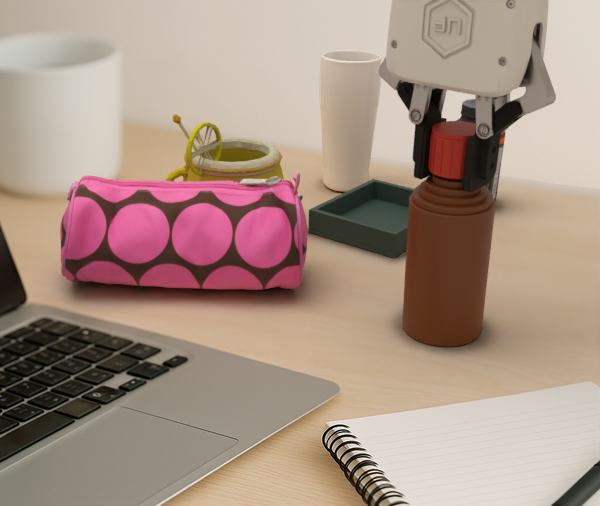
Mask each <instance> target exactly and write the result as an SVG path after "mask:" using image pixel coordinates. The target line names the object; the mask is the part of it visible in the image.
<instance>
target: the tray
mask: <svg viewBox="0 0 600 506" xmlns="http://www.w3.org/2000/svg"><path fill="white" fill-rule="evenodd" d="M414 189H415V188H412V187H408V186H404V185H399V184H396V183H391V182H387V181H384V180H379V179H377V178H372V179H370V180H368V182H366V183H364V184H361V185H359V186H357V187H355V188H353V189H351V190H349V191H347V192H342V193H341V194H338V195H337V196H334V197H333V198H330V199H328V200H326V201H324V202H321V203H320V204H317V205H316V206H313V207H312V208H309V209H308V229H307V233H310V234H313V235H317V236H319V237H323V238H327V239H330V240H333V241H336V242H339V243H342V244H346V245H349V246H353V247H356V248H360V249H363V250H367V251H369V252H373V253H376V254H380V255H382V256H385V257H389V258H393V259H394V258H396V257H398V256H400V255H401V254H403V253H405V252H406V248H407V231H408V213H409V198H410V196H411V194H412V193H413V190H414Z"/></svg>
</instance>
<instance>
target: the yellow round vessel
mask: <svg viewBox="0 0 600 506" xmlns="http://www.w3.org/2000/svg"><path fill="white" fill-rule="evenodd" d="M181 119H182V117H181V116H180V115H178V114H176V113H174V114H173V115H172V121H173V123H175V124H177V125H178V127H179V128H180V129H181V131H182V132H183V134H184V135H185V137H186V139H187V140H188V141H187V144H186V149H185V153H184V155H183V160H184V162H185V165H184V166H183V167H180V168H177V169H175V170H173V171H171V172H169V174H168V175H167V176H166V178H165V179H164V181H176V179H178V178H180V177H182V181H185V182H187V181H191V182H198V181H239V182H240V181H242V179H268V180H269V178H271V177H274V176H278V177H279V178H280V179H281V180H282V179H285V177H284V172H283V169H282V166H281V160H282V158H283V155H282V153H281V151H279V150H278V148H277V147H276V146H275V145H272V144H271V143H269V142H266V141H264V140H259V139H256V138H255V139H254V138H248V137H222V134H221V131H220V129H219V127H218V126H217V125H216V124H214V123H212V122H208V121H203V122H201V123H199V124H198V125H197V126H195V128H194V129H193V130H192V131H191V134H190V135H189V133H188V131H187V130H186V128H185V126H184V125H183V124H182V121H181ZM205 127H206V129H205V135H204V138H203V137H202V135H201V134H200V131H201V130H202V129H203V128H205ZM213 132H214V135H215V138H212V139H211V136H212V133H213ZM208 133H209V134H208ZM207 136H208V139H207ZM203 139H204V140H203ZM195 140H196V141H197V143H194V141H195Z"/></svg>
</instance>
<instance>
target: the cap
mask: <svg viewBox="0 0 600 506" xmlns="http://www.w3.org/2000/svg"><path fill="white" fill-rule="evenodd" d="M475 129H476V124H474V123H470V122H463V121H456V120H446V121H445V122H440V123H436V124H434V125H433V126H432V132H431V140H430V152H429V165H428V168H429V171H430V172H431V173H432V174H434V175H436V176H440V177H444V178H450V179H463V172H464V163H465V154H466V145H467V140H468V138H469V137H471V136H473V135H475Z"/></svg>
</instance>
